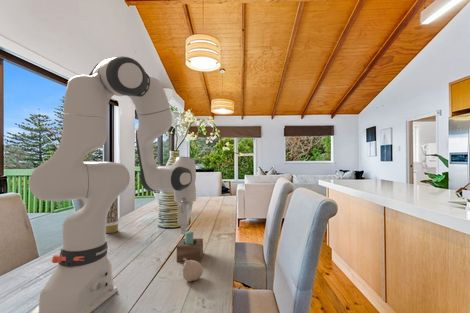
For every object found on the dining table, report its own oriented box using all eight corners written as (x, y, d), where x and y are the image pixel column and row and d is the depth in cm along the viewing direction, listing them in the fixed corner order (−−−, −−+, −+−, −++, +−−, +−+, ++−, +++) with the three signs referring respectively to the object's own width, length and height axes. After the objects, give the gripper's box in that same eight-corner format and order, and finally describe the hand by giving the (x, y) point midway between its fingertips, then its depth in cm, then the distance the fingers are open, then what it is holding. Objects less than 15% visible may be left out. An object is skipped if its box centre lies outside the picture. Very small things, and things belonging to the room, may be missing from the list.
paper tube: (112, 234, 135) (112, 186, 135) (101, 233, 136) (100, 186, 136) (120, 230, 142) (120, 185, 142) (109, 229, 143) (109, 184, 143)
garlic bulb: (185, 275, 87) (185, 251, 87) (204, 275, 87) (203, 251, 87) (180, 285, 81) (180, 259, 81) (200, 285, 81) (200, 259, 81)
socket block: (200, 261, 99) (200, 246, 99) (176, 261, 99) (176, 246, 98) (203, 252, 108) (202, 238, 108) (181, 253, 108) (181, 238, 108)
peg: (192, 259, 101) (192, 233, 101) (184, 259, 101) (184, 233, 101) (193, 256, 104) (193, 231, 104) (185, 255, 104) (186, 231, 104)
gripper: (190, 200, 95) (190, 238, 95) (194, 192, 116) (194, 223, 116) (173, 200, 95) (173, 238, 95) (180, 193, 115) (180, 224, 115)
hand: (185, 230), depth 105 cm, fingers open, 8 cm apart
